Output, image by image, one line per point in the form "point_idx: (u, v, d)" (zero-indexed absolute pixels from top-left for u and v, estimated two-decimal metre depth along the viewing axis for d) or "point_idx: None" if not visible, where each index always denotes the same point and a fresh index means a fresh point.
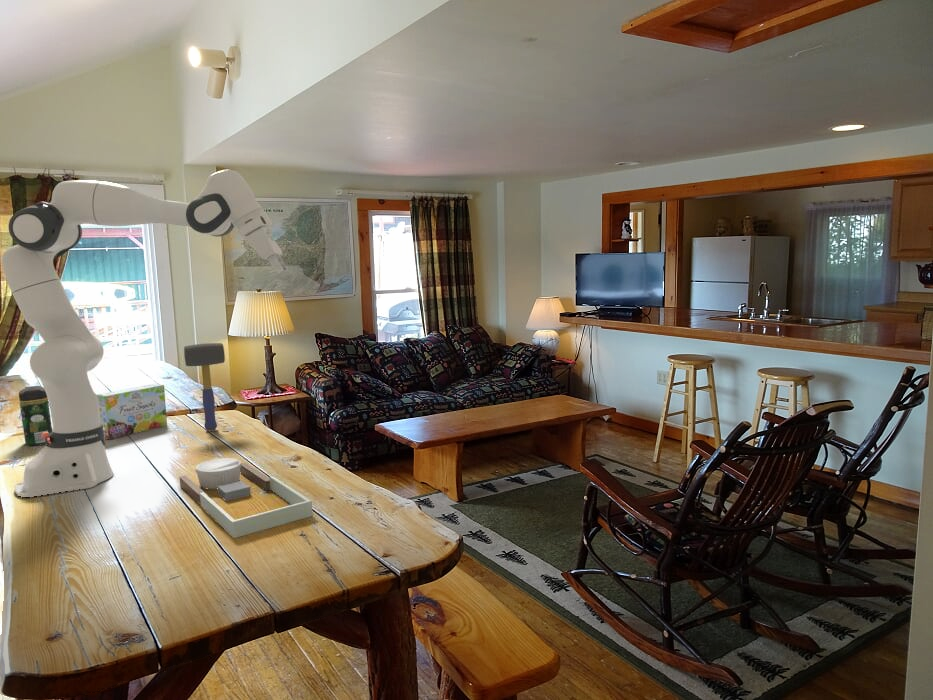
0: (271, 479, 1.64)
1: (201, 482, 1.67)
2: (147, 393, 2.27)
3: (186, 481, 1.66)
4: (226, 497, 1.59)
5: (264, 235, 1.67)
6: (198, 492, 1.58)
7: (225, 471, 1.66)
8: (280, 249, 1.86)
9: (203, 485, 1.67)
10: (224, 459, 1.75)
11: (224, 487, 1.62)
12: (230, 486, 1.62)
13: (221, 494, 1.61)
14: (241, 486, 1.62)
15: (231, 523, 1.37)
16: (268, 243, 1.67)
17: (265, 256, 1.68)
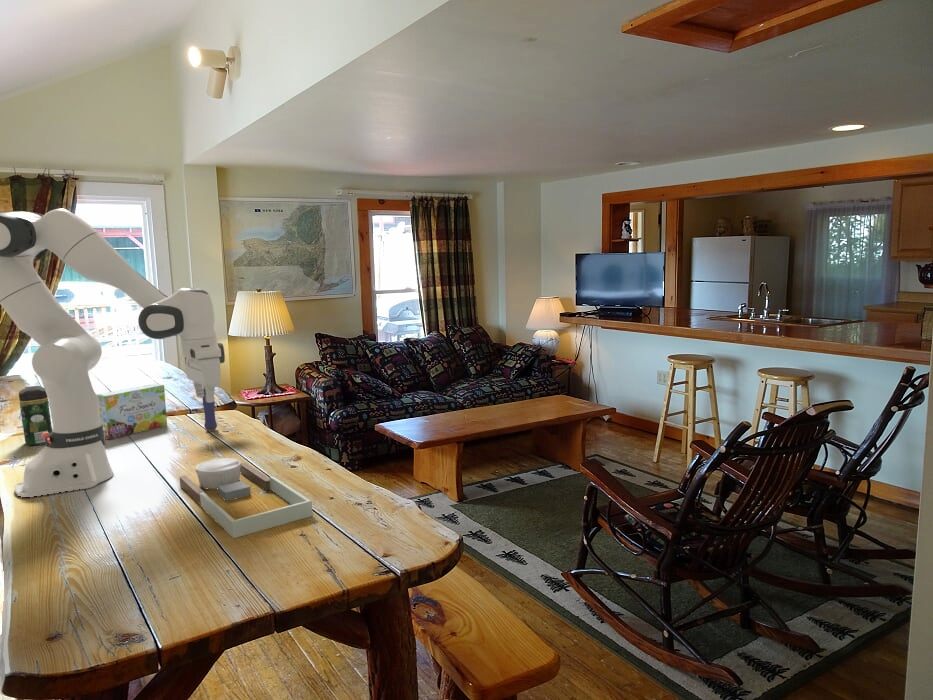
0: (271, 479, 1.64)
1: (201, 482, 1.67)
2: (147, 392, 2.27)
3: (186, 481, 1.66)
4: (226, 497, 1.59)
5: (219, 367, 1.70)
6: (198, 492, 1.58)
7: (225, 471, 1.66)
8: None
9: (203, 485, 1.67)
10: (224, 459, 1.75)
11: (224, 487, 1.62)
12: (230, 486, 1.62)
13: (221, 494, 1.61)
14: (241, 486, 1.62)
15: (231, 523, 1.37)
16: (219, 375, 1.70)
17: (210, 386, 1.69)
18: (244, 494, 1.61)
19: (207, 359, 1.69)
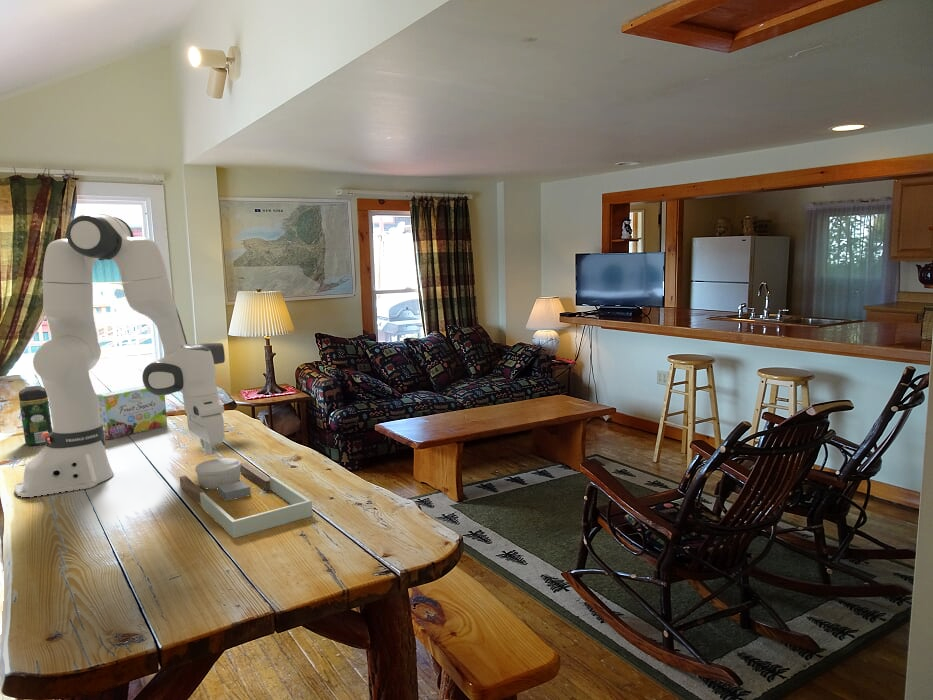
0: (271, 479, 1.64)
1: (201, 482, 1.67)
2: (147, 393, 2.27)
3: (186, 481, 1.66)
4: (226, 497, 1.59)
5: (222, 423, 1.73)
6: (198, 492, 1.58)
7: (225, 471, 1.66)
8: None
9: (203, 485, 1.67)
10: (224, 459, 1.75)
11: (224, 487, 1.62)
12: (230, 486, 1.62)
13: (221, 494, 1.61)
14: (241, 486, 1.62)
15: (231, 523, 1.37)
16: (223, 432, 1.72)
17: (214, 442, 1.71)
18: (244, 494, 1.61)
19: (210, 416, 1.72)
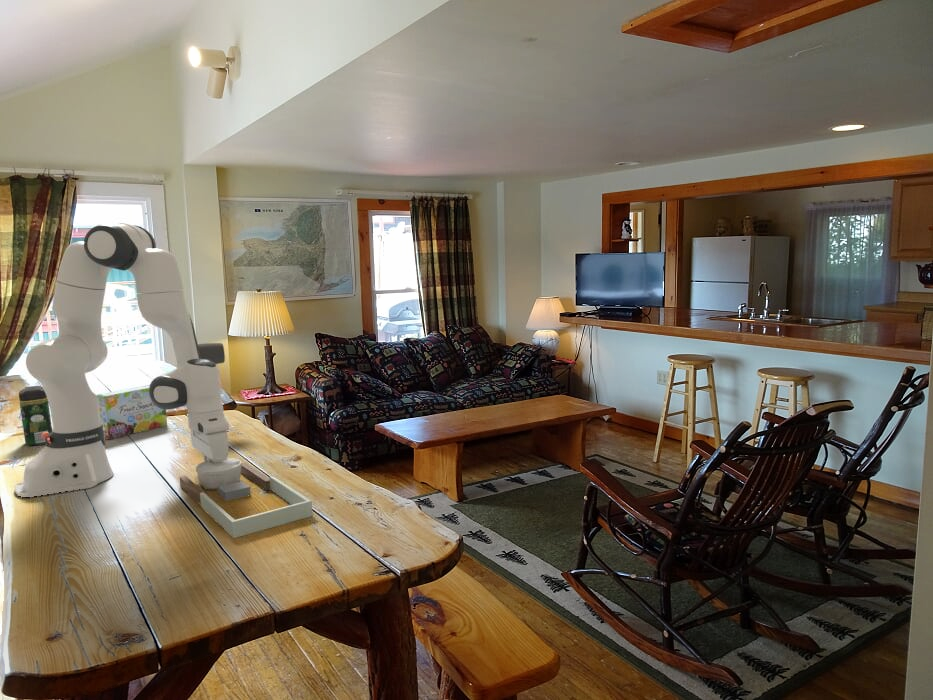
0: (271, 479, 1.64)
1: (202, 482, 1.67)
2: (147, 393, 2.27)
3: (186, 481, 1.66)
4: (226, 497, 1.59)
5: (226, 441, 1.69)
6: (198, 492, 1.58)
7: (226, 471, 1.66)
8: None
9: (204, 485, 1.67)
10: None
11: (224, 487, 1.62)
12: (230, 486, 1.62)
13: (221, 494, 1.61)
14: (241, 486, 1.62)
15: (231, 523, 1.37)
16: (227, 450, 1.69)
17: (218, 460, 1.68)
18: (244, 494, 1.61)
19: (215, 433, 1.69)
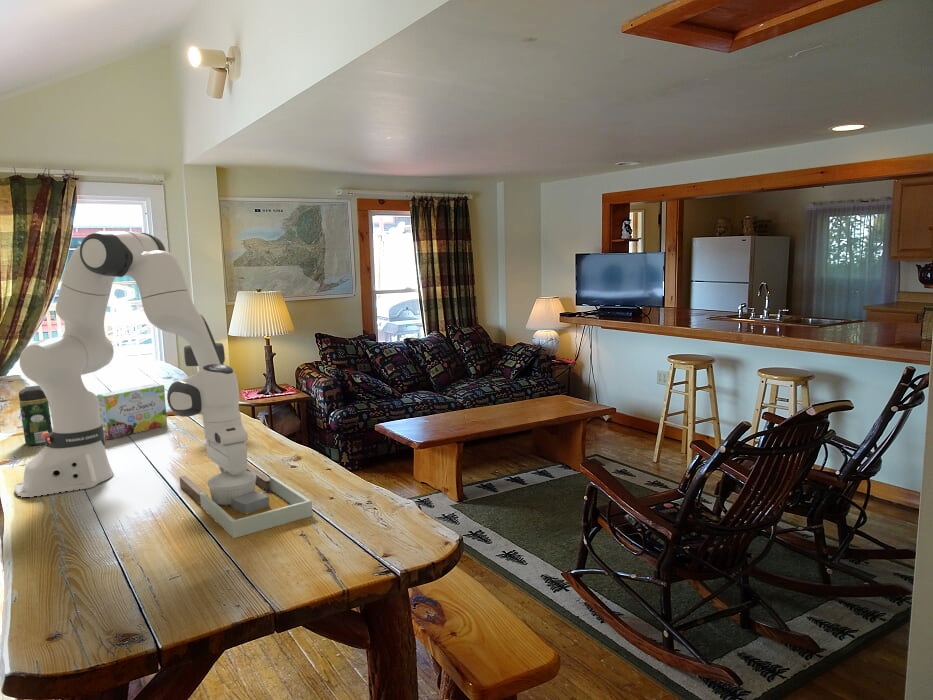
0: (271, 479, 1.64)
1: (212, 496, 1.56)
2: (147, 393, 2.27)
3: (186, 481, 1.66)
4: (246, 509, 1.50)
5: (245, 452, 1.59)
6: (198, 492, 1.58)
7: (234, 487, 1.54)
8: None
9: (213, 500, 1.56)
10: None
11: (240, 499, 1.53)
12: (246, 497, 1.54)
13: (238, 506, 1.52)
14: (259, 497, 1.54)
15: (231, 523, 1.37)
16: (246, 462, 1.59)
17: (236, 473, 1.58)
18: (263, 505, 1.53)
19: (233, 444, 1.58)
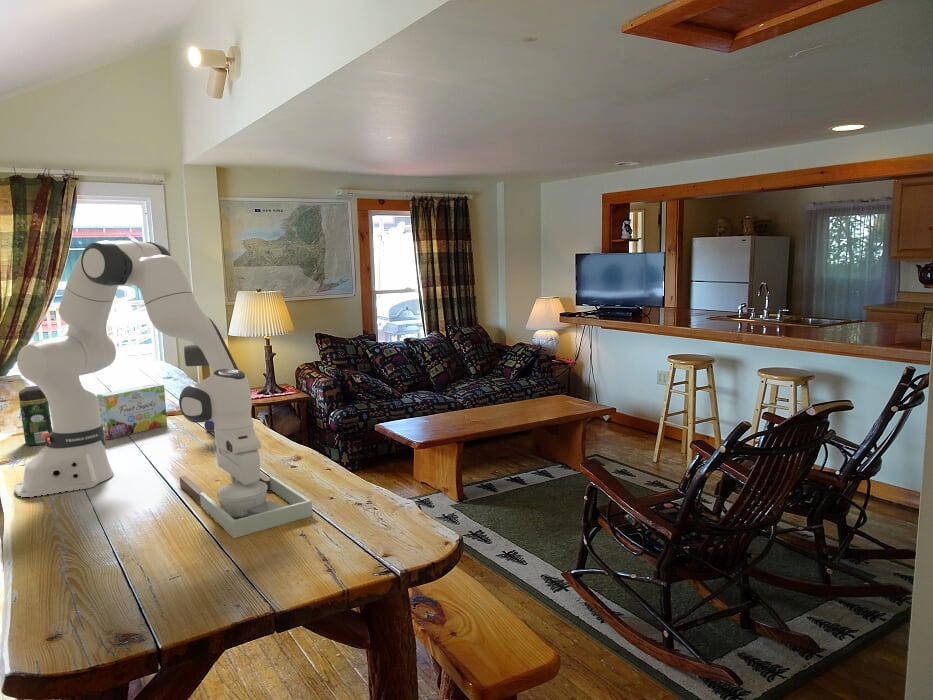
0: (271, 479, 1.64)
1: (221, 507, 1.49)
2: (147, 393, 2.27)
3: (186, 481, 1.66)
4: None
5: (258, 461, 1.52)
6: (198, 492, 1.58)
7: (243, 498, 1.46)
8: None
9: None
10: None
11: (257, 509, 1.47)
12: (263, 507, 1.48)
13: None
14: (277, 506, 1.48)
15: (231, 523, 1.37)
16: (259, 471, 1.52)
17: (248, 483, 1.51)
18: None
19: (245, 453, 1.51)
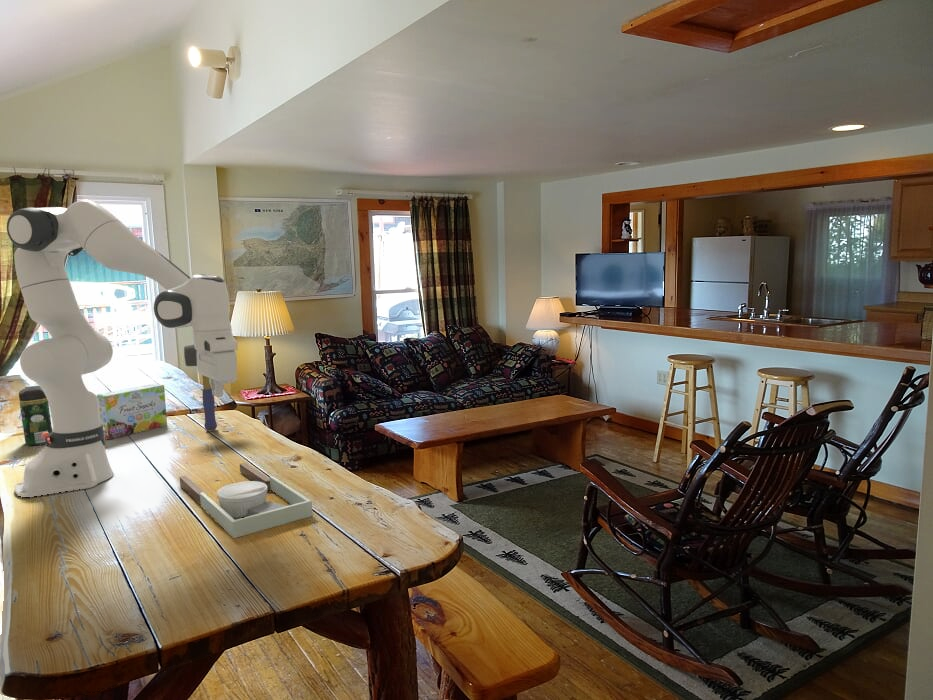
0: (271, 479, 1.64)
1: None
2: (147, 393, 2.27)
3: (186, 481, 1.66)
4: None
5: (235, 361, 1.56)
6: (198, 492, 1.58)
7: (243, 499, 1.46)
8: None
9: None
10: (253, 483, 1.55)
11: (257, 509, 1.47)
12: (263, 508, 1.48)
13: None
14: (277, 506, 1.48)
15: (231, 523, 1.37)
16: (235, 370, 1.56)
17: (225, 382, 1.55)
18: None
19: (223, 352, 1.56)
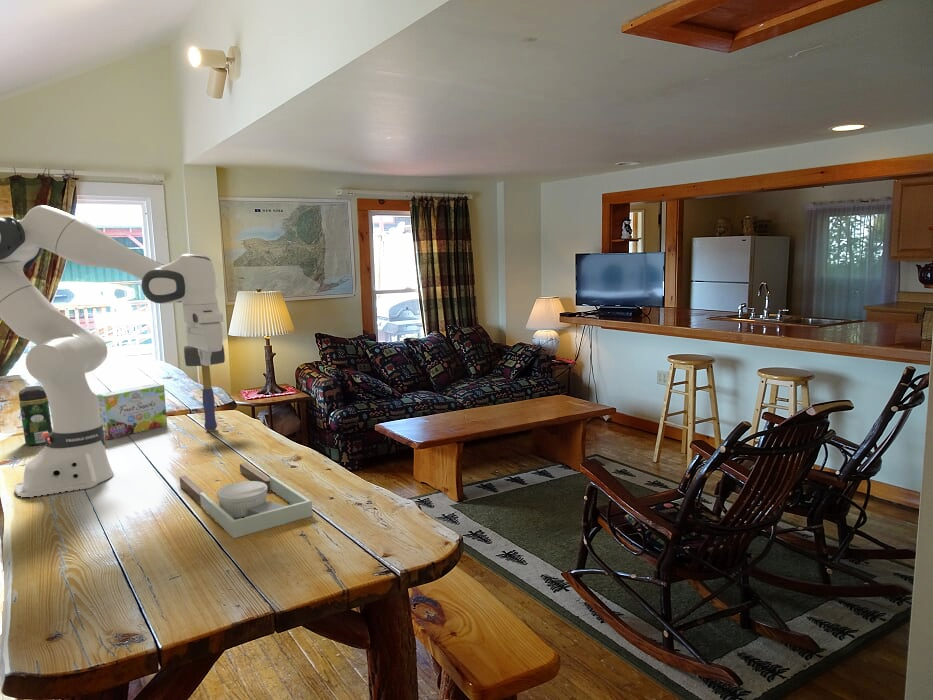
0: (271, 479, 1.64)
1: None
2: (147, 393, 2.27)
3: (186, 481, 1.66)
4: None
5: (221, 332, 1.72)
6: (198, 492, 1.58)
7: (243, 499, 1.46)
8: None
9: None
10: (253, 483, 1.55)
11: (257, 509, 1.47)
12: (263, 507, 1.48)
13: None
14: (277, 506, 1.48)
15: (231, 523, 1.37)
16: (221, 340, 1.72)
17: (212, 350, 1.71)
18: None
19: (209, 324, 1.71)
